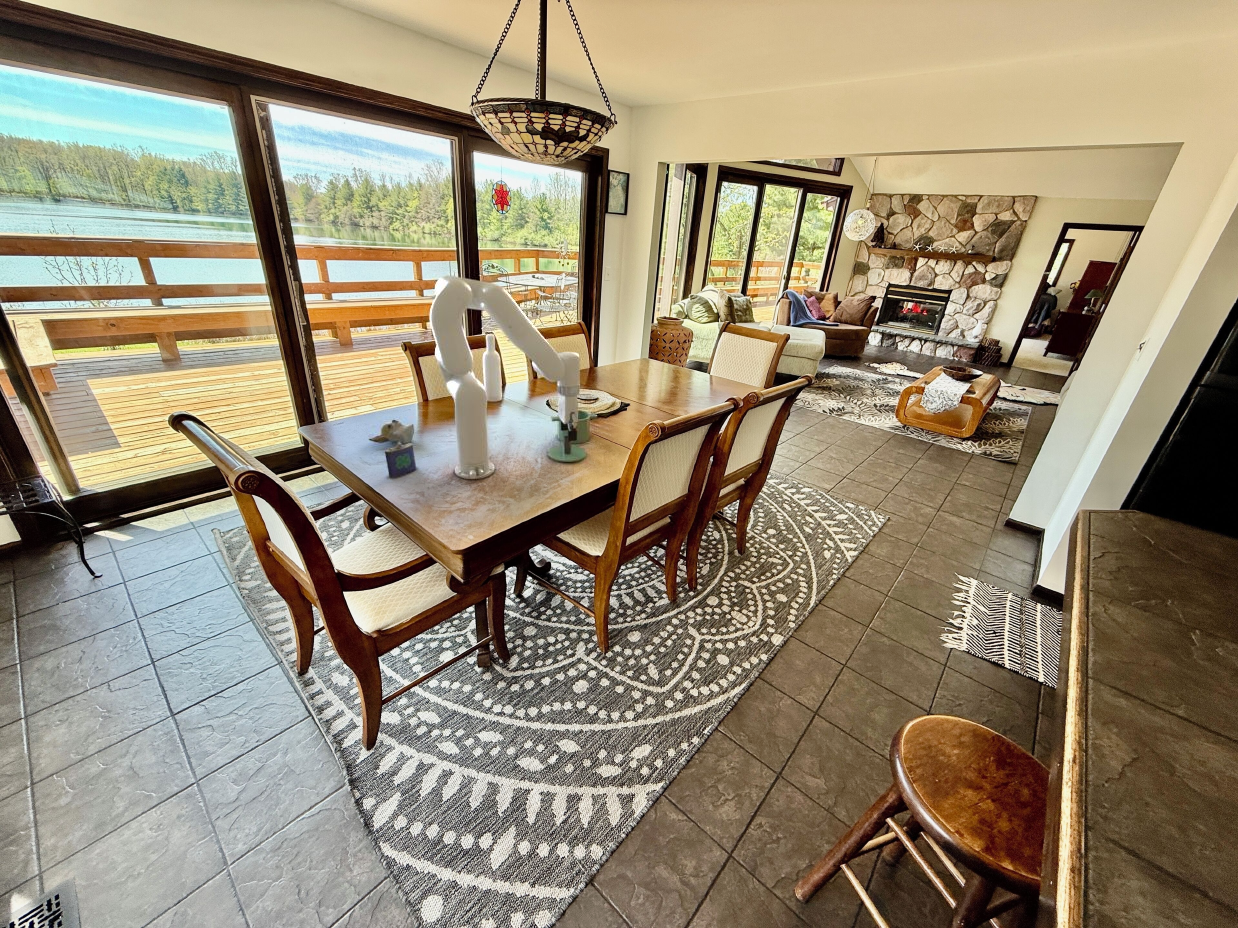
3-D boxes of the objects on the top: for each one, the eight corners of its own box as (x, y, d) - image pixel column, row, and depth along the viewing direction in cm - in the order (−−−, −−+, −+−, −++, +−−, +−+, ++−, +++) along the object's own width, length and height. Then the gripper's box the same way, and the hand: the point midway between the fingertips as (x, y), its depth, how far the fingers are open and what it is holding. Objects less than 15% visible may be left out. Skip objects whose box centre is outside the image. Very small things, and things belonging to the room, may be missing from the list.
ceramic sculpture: (406, 425, 168) (363, 425, 168) (410, 448, 172) (369, 447, 172) (418, 415, 178) (378, 415, 178) (422, 437, 181) (383, 436, 182)
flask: (413, 466, 159) (409, 437, 154) (418, 469, 158) (414, 439, 153) (387, 476, 152) (382, 445, 148) (392, 479, 151) (387, 448, 146)
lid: (590, 461, 172) (591, 443, 168) (553, 465, 167) (553, 446, 164) (579, 446, 183) (580, 429, 180) (544, 449, 178) (544, 431, 175)
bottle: (505, 399, 228) (503, 335, 215) (493, 403, 222) (490, 337, 209) (493, 395, 231) (490, 332, 218) (481, 399, 225) (477, 334, 212)
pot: (600, 441, 188) (601, 418, 184) (555, 445, 182) (555, 422, 178) (590, 429, 199) (591, 408, 195) (547, 433, 193) (547, 410, 189)
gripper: (551, 382, 170) (552, 427, 178) (564, 397, 156) (564, 445, 163) (572, 381, 173) (572, 425, 180) (586, 396, 158) (585, 443, 166)
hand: (568, 435), depth 172 cm, fingers open, 9 cm apart
